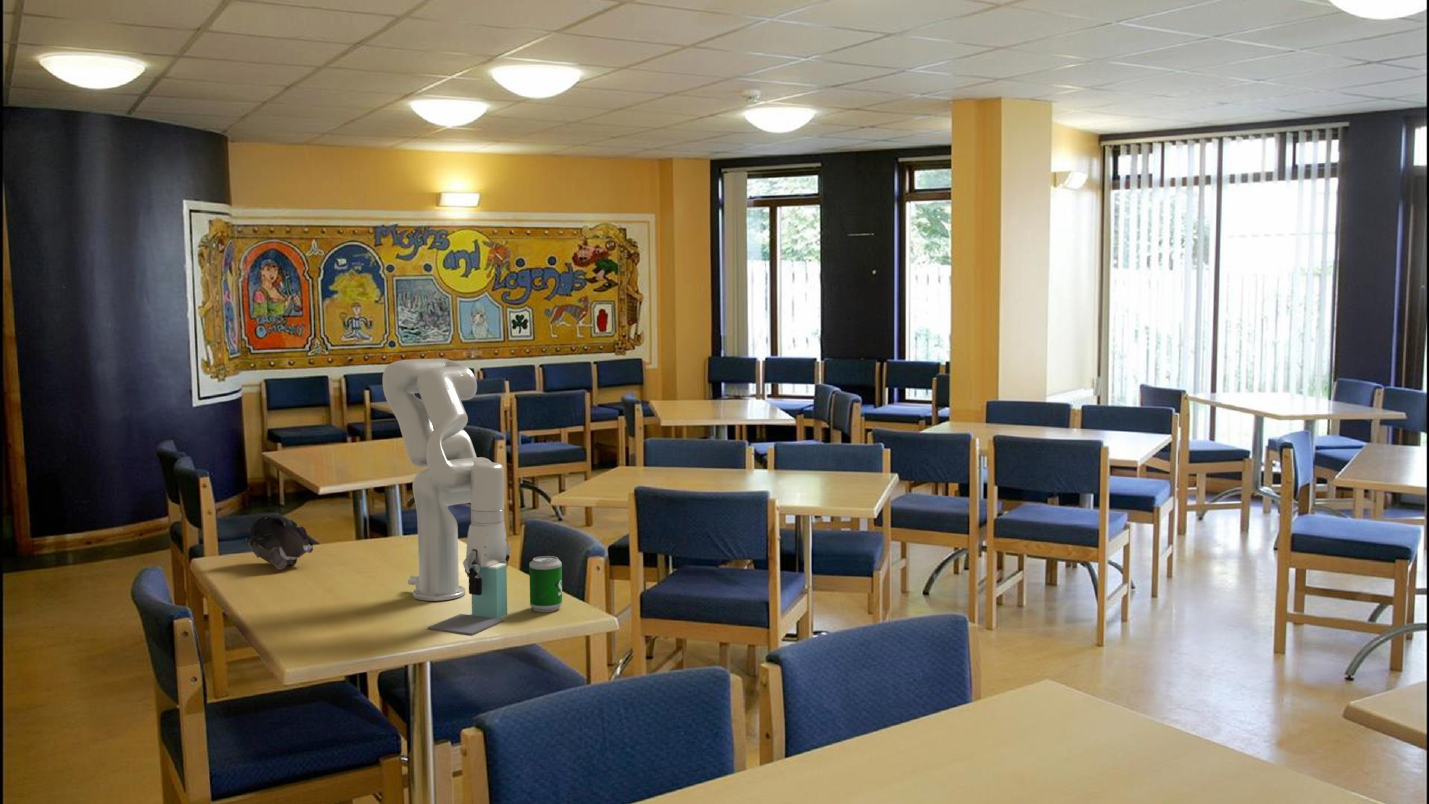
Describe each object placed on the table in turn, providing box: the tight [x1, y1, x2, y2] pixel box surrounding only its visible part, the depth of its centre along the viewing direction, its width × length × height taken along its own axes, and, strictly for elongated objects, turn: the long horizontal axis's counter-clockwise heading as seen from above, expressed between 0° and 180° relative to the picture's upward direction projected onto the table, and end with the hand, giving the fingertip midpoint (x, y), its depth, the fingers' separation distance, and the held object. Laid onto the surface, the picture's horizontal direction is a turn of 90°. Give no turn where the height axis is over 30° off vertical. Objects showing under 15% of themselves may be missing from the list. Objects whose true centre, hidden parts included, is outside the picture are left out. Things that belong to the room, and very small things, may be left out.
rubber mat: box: [427, 613, 505, 636], centre depth 255 cm, size 12×12×1 cm
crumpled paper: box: [245, 514, 314, 570], centre depth 312 cm, size 14×15×20 cm
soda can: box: [528, 555, 563, 613], centre depth 268 cm, size 8×8×12 cm
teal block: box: [471, 563, 508, 619], centre depth 263 cm, size 7×4×12 cm, turn 66°
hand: (487, 589), depth 263 cm, fingers open, 9 cm apart
